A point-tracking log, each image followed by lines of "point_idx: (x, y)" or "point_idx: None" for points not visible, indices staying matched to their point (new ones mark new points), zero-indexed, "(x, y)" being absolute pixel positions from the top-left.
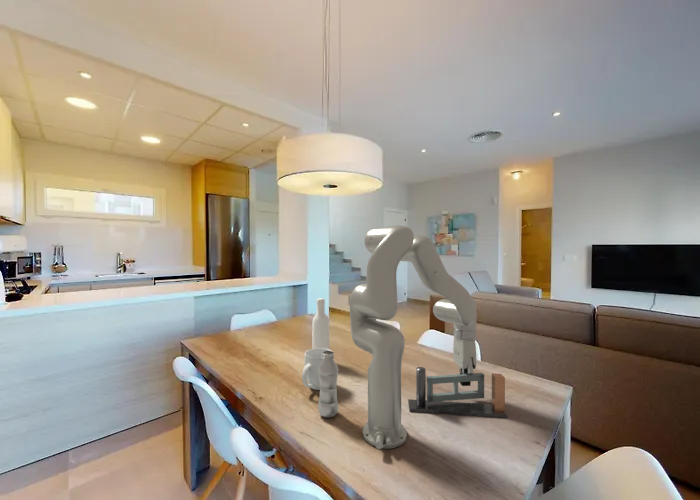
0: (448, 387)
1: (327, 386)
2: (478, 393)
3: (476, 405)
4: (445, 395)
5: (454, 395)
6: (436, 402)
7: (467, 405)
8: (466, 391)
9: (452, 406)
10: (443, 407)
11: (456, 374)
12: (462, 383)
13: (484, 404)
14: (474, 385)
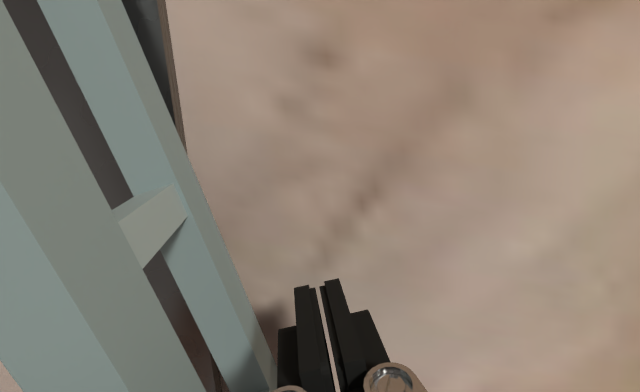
0: (463, 167)
1: None
2: (230, 382)
3: (174, 317)
4: (83, 90)
5: (134, 187)
6: (130, 11)
7: (155, 260)
8: (226, 304)
9: (100, 147)
10: (53, 65)
11: (97, 338)
12: (295, 306)
13: (203, 364)
14: (494, 338)
